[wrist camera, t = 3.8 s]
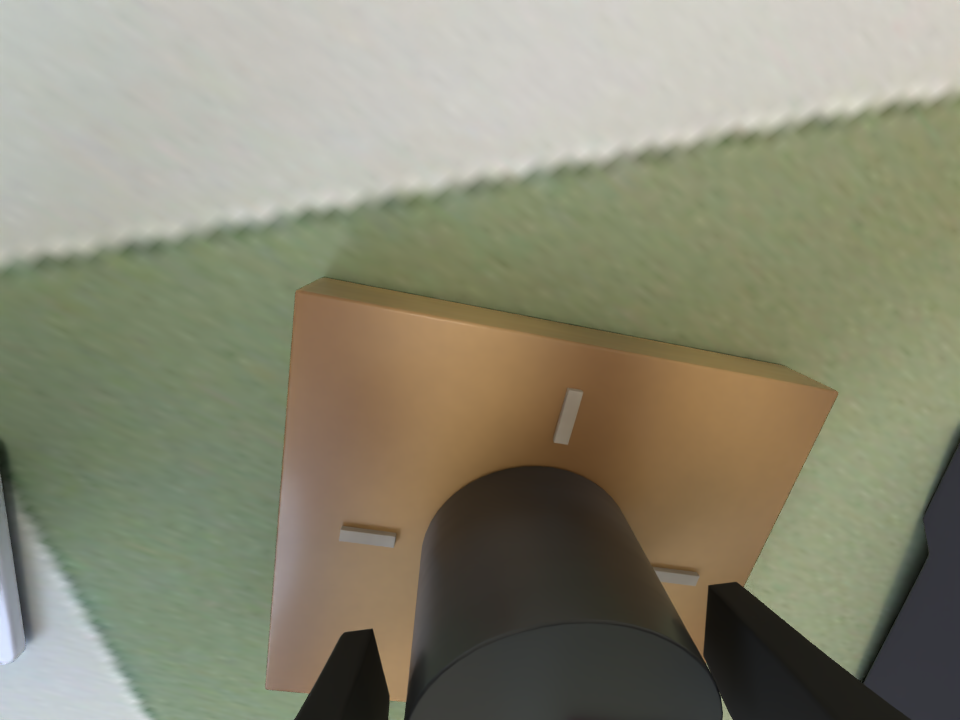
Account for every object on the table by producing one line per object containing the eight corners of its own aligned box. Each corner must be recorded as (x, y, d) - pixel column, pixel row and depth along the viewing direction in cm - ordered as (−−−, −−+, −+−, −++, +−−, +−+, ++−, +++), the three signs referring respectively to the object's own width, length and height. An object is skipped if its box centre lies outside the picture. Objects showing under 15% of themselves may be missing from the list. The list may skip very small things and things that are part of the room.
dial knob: (406, 624, 12) (378, 856, 8) (441, 449, 11) (430, 620, 6) (596, 644, 13) (669, 870, 9) (657, 482, 11) (789, 659, 7)
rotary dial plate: (288, 629, 15) (261, 696, 13) (321, 276, 11) (291, 290, 9) (650, 667, 16) (678, 732, 14) (783, 364, 13) (846, 394, 11)
